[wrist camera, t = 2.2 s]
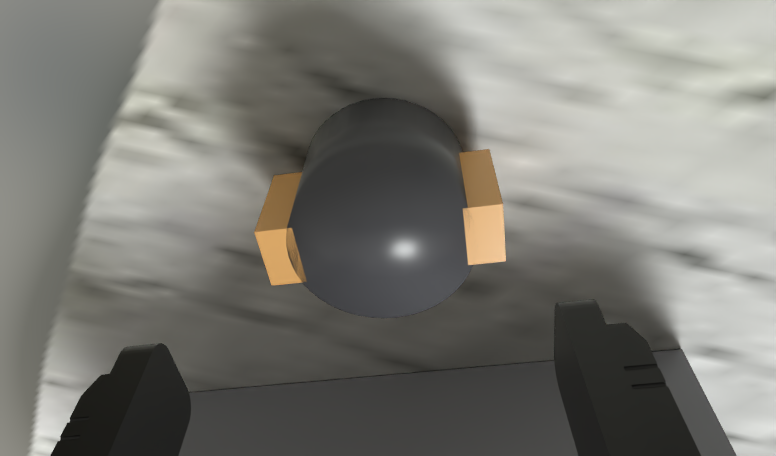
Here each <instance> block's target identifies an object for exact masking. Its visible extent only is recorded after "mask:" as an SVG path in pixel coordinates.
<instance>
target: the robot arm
mask: <svg viewBox="0 0 776 456" xmlns="http://www.w3.org/2000/svg"><path fill="white" fill-rule="evenodd" d="M554 363H555V371H556V378H557V383H558V387H559V391H560V394H561V397H562V401H563V404H564V408H565V411H566V415H567V418H568V422H569V425H570V429H571V432H572V436H573V439H574V442H575V446H576V449H577V453H578V456H701V454H700V452H699V450H698V448H697V446H696V444H695V442H694V440H693V437H692V435H691V433H690V431H689V429H688V427H687V425H686V423H685V421H684V419H683V416H682V414H681V412H680V410H679V408H678V406H677V404H676V402H675V400H674V398H673V395H672V393H671V391H670V389H669V387H668V386H666V381H665V379H664V377H663V374H662V372H661V370H660V368H658V366H657V362H656V360H655V358H654V356H653V353H652V351H651V349H650V347H649V345H648V343H647V341H646V340H645V339H644V338H643V337H641V336H640V335H639V334H638V333H637V332H636V331H635V330H634V329H633V328H631V327H630V326H629V325H628V324H627V323H621V324H611V325H606V323H605V321H604V318H603V316H602V314H601V311H600V309H599V306H598V304H597V302H596V301H595V300H594V299H591V300H581V301H572V302H562V303H556V305H555V326H554ZM190 416H191V400H190V395H189V392H188V389H187V387H186V385H185V383H184V381H183V379H182V377H181V375H180V373H179V371H178V369H177V367H176V364H175V362H174V360H173V358H172V356H171V354H170V352H169V350H168V348H167V347H166V346H165V345H164V344H162V343H161V344H150V345H141V346H131V347H126V348H124V349H123V350H122V351H121V353H120V354H119V356H118V358H117V360H116V362H115V365H114V367H113V369H112V371H111V373H110V374H105V375H101V376H100V377H99V378H98V379H97V380H96V381H95V382H94V383H93V384H92V385H91V386H90V387H89V388H88V389H87V390H86V391H85V392H84V394H83V395H82V396H81V398H80V399H79V401H78V403H77V405H76V407H75V409H74V411H73V413H72V415H71V417H70V423H67V425H66V427H65V429H64V430H63V432H62V434H61V436H60V437H61V440H60V441H58V442H57V444H56V446H55V448H54V450H53V452H52V454H51V456H179V453H180V449H181V446H182V443H183V440H184V437H185V434H186V431H187V428H188V424H189V421H190Z"/></svg>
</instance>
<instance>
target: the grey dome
mask: <svg viewBox="0 0 776 456" xmlns="http://www.w3.org/2000/svg"><path fill="white" fill-rule="evenodd" d="M254 233H255V236H256V239H257V242H258V245H259V248H260V251H261V255H262V258H263V261H264V264H265V267H266V270H267V273H268V276H269V279H270V282H271V285H272V286H273V285H282V284H292V283H302V282H303V284H304V285H305V286H306V287H307V288H308V289H309V290H310V291H311V292H312V293H313V294H315V295H316V296H317V297H318V298H320V299H321V300H323V301H324V302H326V303H328V304H329V305H331V306H333V307H335V308H338V309H340V310H343V311H345V312H348V313H351V314H355V315H359V316H365V317H372V318H396V317H402V316H408V315H412V314H416V313H419V312H422V311H424V310H427V309H429V308H431V307H433V306H435V305H437V304H439V303H441V302H442V301H444V300H445V299H447V298H448V297H449V296H450V295H451V294H453V293H454V292H455V291H456V290H457V289H458V288H459V287H460V286H461V284H462V283H463V282H464V280H465V279H466V278H467V276H468V274H469V272H470V270H471V268H472V266H473V265H475V264H485V263H494V262H504V261H506V252H505V233H504V214H503V202H502V198H501V194H500V190H499V186H498V182H497V178H496V174H495V170H494V166H493V162H492V158H491V154H490V150H489V149H486V150H478V151H470V152H462V149H461V146H460V144H459V142H458V140H457V138H456V136H455V135H454V133H453V132H452V130H451V129H450V128H449V127H448V125H447V124H446V123H445V122H444V121H443V120H442V119H440V118H439V117H438V116H437V115H436V114H434V113H432V112H431V111H429V110H428V109H426V108H424V107H422V106H419V105H417V104H415V103H411V102H408V101H404V100H399V99H390V98H379V99H370V100H364V101H360V102H357V103H354V104H351V105H349V106H347V107H345V108H343V109H341V110H340V111H338V112H337V113H335V114H333V115H332V116H331V117H330V118H329V119H328V120H326V121H325V122H324V124H323V125H322V126H321V127H320V128H319V129H318V131H317V132H316V134H315V136H314V137H313V139H312V141H311V144H310V146H309V149H308V153H307V157H306V160H305V164H304V167H303V171H302V172H298V173H289V174H281V175H274V177H273V180H272V183H271V186H270V189H269V191H268V194H267V197H266V200H265V203H264V206H263V209H262V211H261V214H260V217H259V220H258V223H257V226H256V229H255V231H254Z"/></svg>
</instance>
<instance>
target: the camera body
mask: <svg viewBox="0 0 776 456" xmlns="http://www.w3.org/2000/svg"><path fill="white" fill-rule="evenodd" d="M652 353H653V356H654V358H655V360H656V362H657V366H658V368H660V370H661V372H662V374H663V377H664V379H665V381H666V386H668V387H669V389H670V391H671V393H672V395H673V398H674V400H675V402H676V404H677V406H678V408H679V410H680V412H681V414H682V416H683V419H684V421H685V423H686V425H687V427H688V429H689V431H690V433H691V435H692V437H693V440H694V442H695V444H696V446H697V448H698V450H699V452H700V454H701V456H736V454H735V452H734V450H733V448H732V446H731V444H730V442H729V440H728V438H727V436H726V434H725V432H724V430H723V428H722V426H721V424H720V423H719V421H718V419H717V417H716V415H715V413H714V411H713V409H712V407H711V405H710V403H709V401H708V399H707V397H706V395H705V393H704V391H703V389H702V387H701V386H700V384H699V382H698V380H697V378H696V376H695V374H694V372H693V370H692V368H691V366H690V364H689V362H688V360H687V358H686V356H685V354H684V352H683V350H682V349H679V350H668V351H657V352H652ZM189 395H190V400H191V416H190V421H189V424H188V428H187V431H186V434H185V437H184V440H183V443H182V446H181V449H180V453H179V456H578V453H577V449H576V446H575V442H574V439H573V436H572V432H571V429H570V425H569V422H568V418H567V415H566V411H565V408H564V404H563V401H562V397H561V394H560V391H559V387H558V383H557V378H556V371H555V363H554V361H543V362H532V363H520V364H509V365H498V366H486V367H475V368H463V369H452V370H441V371H429V372H418V373H407V374H395V375H384V376H372V377H361V378H350V379H338V380H327V381H316V382H304V383H293V384H281V385H270V386H259V387H247V388H236V389H225V390H213V391H202V392H190V393H189Z"/></svg>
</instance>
